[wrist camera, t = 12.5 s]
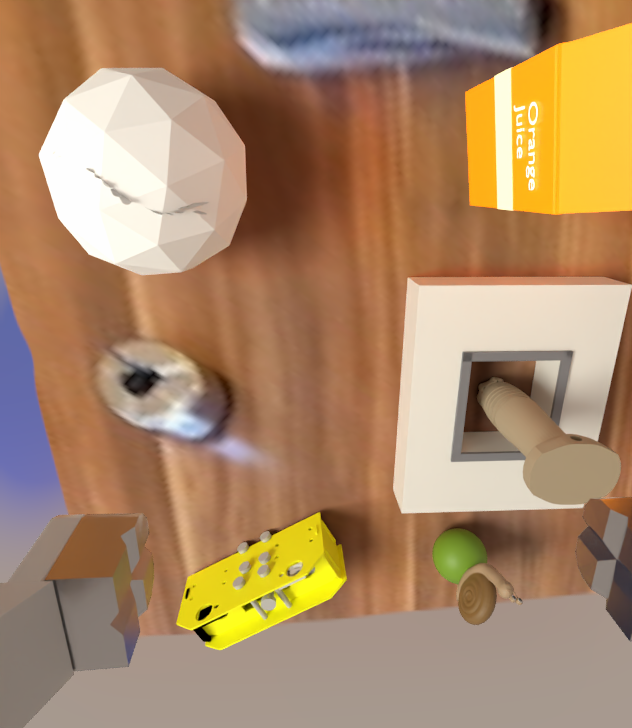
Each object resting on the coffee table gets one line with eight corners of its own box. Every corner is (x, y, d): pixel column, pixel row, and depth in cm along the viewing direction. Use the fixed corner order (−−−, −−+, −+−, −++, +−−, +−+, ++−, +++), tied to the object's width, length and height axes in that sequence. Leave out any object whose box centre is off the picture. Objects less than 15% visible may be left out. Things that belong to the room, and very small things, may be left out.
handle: (519, 414, 50) (611, 504, 36) (455, 413, 49) (523, 504, 35) (527, 368, 48) (628, 444, 34) (462, 367, 48) (536, 443, 34)
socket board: (407, 277, 45) (420, 286, 40) (603, 276, 46) (634, 285, 41) (393, 489, 52) (402, 515, 48) (561, 484, 53) (584, 509, 49)
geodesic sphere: (318, 108, 34) (157, 30, 23) (281, 300, 39) (130, 314, 28) (176, 89, 41) (-2, 23, 30) (158, 255, 46) (-4, 251, 34)
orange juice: (468, 206, 43) (611, 223, 24) (463, 91, 40) (623, 6, 21) (558, 191, 43) (772, 197, 24) (560, 75, 40) (806, -23, 21)
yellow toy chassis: (316, 503, 52) (322, 560, 44) (342, 542, 54) (351, 603, 46) (186, 568, 54) (170, 633, 46) (215, 603, 56) (204, 672, 48)
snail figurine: (490, 521, 54) (544, 610, 43) (458, 565, 56) (502, 661, 44) (448, 503, 53) (493, 589, 42) (417, 548, 55) (451, 643, 43)
